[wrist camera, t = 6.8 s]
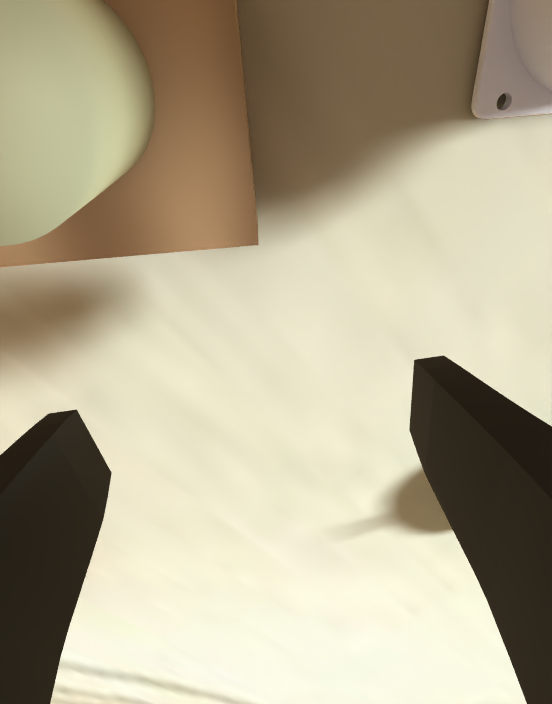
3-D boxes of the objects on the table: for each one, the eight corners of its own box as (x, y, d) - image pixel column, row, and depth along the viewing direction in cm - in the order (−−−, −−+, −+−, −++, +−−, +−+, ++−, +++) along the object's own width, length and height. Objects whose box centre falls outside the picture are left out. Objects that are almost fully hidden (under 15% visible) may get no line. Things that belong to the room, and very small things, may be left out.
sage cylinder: (160, 4, 11) (90, -47, 6) (150, 200, 13) (96, 267, 9) (-53, -57, 10) (-317, -167, 5) (-17, 165, 13) (-172, 218, 8)
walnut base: (221, -151, 11) (213, -213, 9) (257, 219, 17) (258, 244, 14) (-146, -119, 11) (-258, -173, 9) (14, 240, 17) (-27, 269, 14)
